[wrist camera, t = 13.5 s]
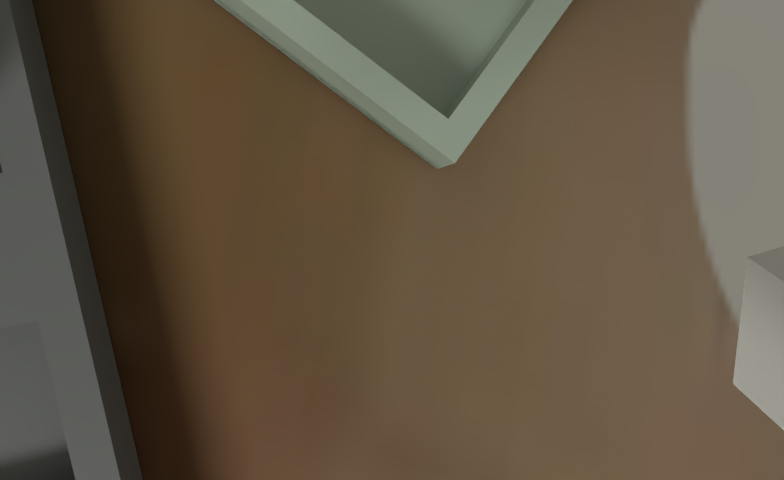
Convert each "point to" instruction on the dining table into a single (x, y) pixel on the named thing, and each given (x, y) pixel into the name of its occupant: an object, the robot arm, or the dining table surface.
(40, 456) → the fuse holder
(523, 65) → the tray
